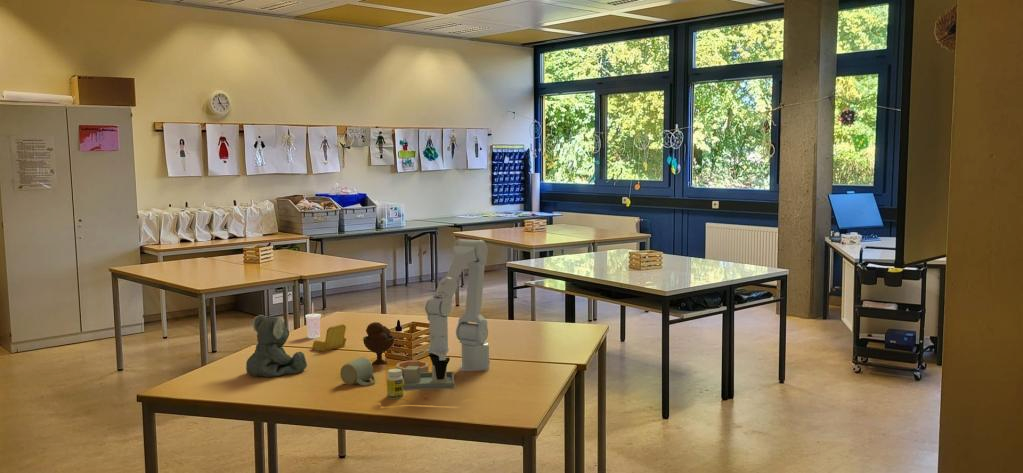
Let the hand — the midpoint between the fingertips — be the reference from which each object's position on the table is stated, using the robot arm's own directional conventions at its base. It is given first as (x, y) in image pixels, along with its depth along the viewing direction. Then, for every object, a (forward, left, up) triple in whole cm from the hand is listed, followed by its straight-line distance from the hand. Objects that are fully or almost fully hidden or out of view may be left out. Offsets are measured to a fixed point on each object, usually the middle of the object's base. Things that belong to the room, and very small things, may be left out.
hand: (439, 377), depth 249 cm
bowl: (+9, -12, -2) cm, 15 cm away
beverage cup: (+51, -70, -2) cm, 87 cm away
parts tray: (+4, 0, -2) cm, 4 cm away
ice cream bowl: (+21, -25, -2) cm, 33 cm away
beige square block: (+9, +1, -1) cm, 9 cm away
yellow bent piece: (+42, -52, -2) cm, 67 cm away
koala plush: (+56, -19, -2) cm, 59 cm away
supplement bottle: (+13, +14, -2) cm, 19 cm away
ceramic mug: (+25, -2, -2) cm, 25 cm away
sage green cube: (0, 0, -1) cm, 1 cm away
